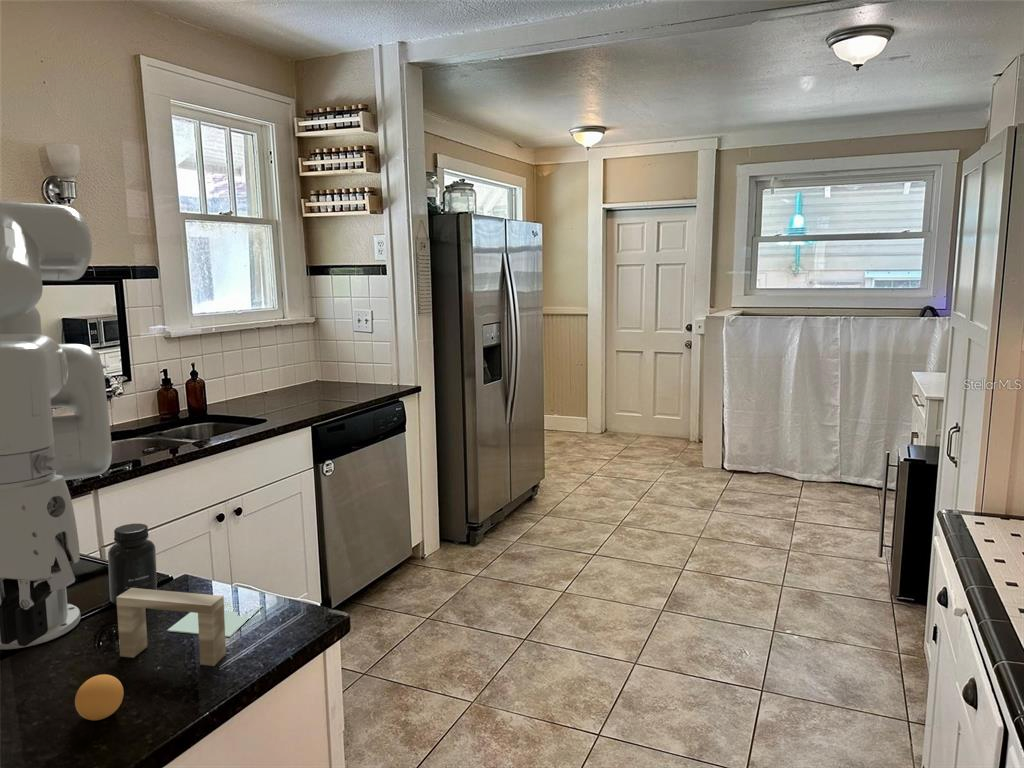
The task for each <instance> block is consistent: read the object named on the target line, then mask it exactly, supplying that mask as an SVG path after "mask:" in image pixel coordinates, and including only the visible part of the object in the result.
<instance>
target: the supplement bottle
mask: <svg viewBox="0 0 1024 768" xmlns="http://www.w3.org/2000/svg"><path fill="white" fill-rule="evenodd" d="M113 531H114V532H113V534H114V535H113V536H114V537H113V542H114V543H115V544H113V545H111V546H110V548H109V550H108V552H107V560H108V561H107V562H108V563H107V564H108V565H107V566H108V582H109V583H108V584H109V586H108V587H109V599H110V602H111V603H112V604H113V605H115V606H117V600H116V597H117V596H119V595H121V594H122V593H124V592H125V591H127V590H128V589H130V588H139V589H151V590H158V587H157V586H158V581H157V579H158V578H157V577H158V576H157V575H158V574H157V554H156V553H157V552H156V545H155V543H154V542H153V541H152V540H150V539H149V527H148V525H147V524H145V523H129V524H128V523H127V524H123V525H120V526H117V527H115V529H114V530H113Z"/></svg>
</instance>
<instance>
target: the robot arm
mask: <svg viewBox="0 0 1024 768" xmlns="http://www.w3.org/2000/svg"><path fill="white" fill-rule="evenodd" d="M92 254H93V242H92V235H91V232H90V228H89V225H88V224H87V221H86V219H85V218H84V217H83V215H81V213H80V212H79V211H77V210H76V209H74V208H72V207H70V206H65V205H62V204H61V205H60V204H47V203H32V202H17V201H7V200H5V201H4V200H3V201H2V200H0V650H15V649H23V648H27V647H33V646H37V645H39V644H43V643H46V642H49V641H52V640H55V639H56V638H59V637H61V636H63V635H65V634H67V633H69V632H70V631H71V630H73V629H74V628H75V627H76V626H77V625H78V624H79V622H80V621H81V611H80V610H81V609H80V608H78V606H76V605H74V604H72V603H68V593H67V588H68V587H69V586H70V585H72V584H74V583H75V581H76V577H75V573H74V572H73V570H72V567H71V566H74V565H76V564H78V563H79V561H80V555H81V554H80V553H81V552H80V542H79V534H78V533H79V532H78V528H77V526H78V525H77V521H76V516H75V515H76V514H75V509H74V506H73V501H72V496H71V494H70V490H69V487H68V485H67V482H66V481H69V480H71V481H72V480H78V479H84V478H85V479H86V478H91V477H96V476H99V475H103V474H104V473H106V472H107V470H108V469H109V468H110V466H111V464H112V463H111V462H112V456H113V447H112V435H111V426H110V425H111V424H110V416H109V406H108V397H107V396H108V395H107V388H106V380H105V379H106V378H105V372H104V366H103V363H102V360H101V358H100V356H99V354H98V353H97V351H96V350H95V349H94V348H92V347H90V346H89V345H86V344H81V343H57V342H56V340H54V338H51V337H49V336H47V335H45V334H42V333H43V332H42V321H41V315H40V312H39V310H38V308H37V307H36V306H37V304H38V303H39V301H40V300H41V298H42V295H43V281H59V282H60V281H77V280H79V279H80V278H82V277H83V276H84V274H85V273H86V272H87V271H86V270H87V269H88V266H89V264H90V262H91V259H92ZM54 408H55V409H57V408H65V409H69V410H70V411H72V412H73V413H74V414H70V415H58V416H53V414H52V409H54Z"/></svg>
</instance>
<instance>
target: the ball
mask: <svg viewBox="0 0 1024 768" xmlns="http://www.w3.org/2000/svg"><path fill="white" fill-rule="evenodd" d="M122 684H123V683H122V682H121V681H120V680H119V679H118V678H117V677H115V676H114V675H110V674H98V675H95V676H92V677H90V678H89V679H87V680H85V682H83V683H82V685H80V686H79V688H78V690H77V691H76V695H75V698H74V706H75V710H76V712H77V713H78V715H79V716H80V717H82V718H84V719H86V720H88V721H101V720H104V719H106V718H108V717H110V716H111V715H113V714H114V713H115V712H116V711H117V710H118V709H119V707H120V705H122V702H123V699H124V691H125V690H124V686H123V685H122Z"/></svg>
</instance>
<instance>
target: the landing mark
mask: <svg viewBox="0 0 1024 768" xmlns="http://www.w3.org/2000/svg"><path fill="white" fill-rule="evenodd" d="M224 603H225V604H224V609H225V607H226V608H227V607H228V605H229V607H232V606H230V605H231V604H228V601H224ZM226 603H227V604H226ZM226 605H227V606H226ZM232 605H233V604H232ZM234 605H235V604H234ZM236 605H237V604H236ZM259 605H260V607H259V609H260V608H261V607H263V606H264V605H263V604H262V605H261V604H259ZM263 608H264V607H263ZM229 609H230V608H229ZM231 609H232V608H231ZM233 609H234V608H233ZM235 609H236V608H235ZM259 609H258V607H257V610H255V613H256V612H257V611H258V610H259ZM261 609H262V608H261ZM261 609H260V610H261ZM260 610H259V611H260ZM259 611H258V612H259ZM258 612H257V613H258ZM255 613H254V612H253V615H254V614H255ZM257 613H256V614H257ZM256 614H255V615H256ZM237 615H238V612H235V611H234V612H233V611H232V612H231V610H230V612H229V610H228V611H227V610H226V611H225V610H224V619H225V638H231V637H232V636H234V634H235V633H236V632H237V630H238V629H239V628H240V627H241V626H242V625H243V623H245V622H246V621H247V620H248V619H249V618H247V616H248V614H246V613H245V614H244V613H243V614H242V617H241V615H240V616H239V615H238V616H237ZM253 615H250V616H253ZM255 615H254V616H255ZM254 616H253V617H254ZM245 617H246V618H245ZM249 620H250V619H249ZM249 620H248V621H249ZM248 621H247V622H248ZM247 622H246V623H247ZM246 623H245V624H246ZM243 626H244V625H243ZM243 626H242V627H243ZM242 627H241V628H242ZM241 628H240V629H241ZM240 629H239V630H240ZM239 630H238V631H239ZM166 631H167V632H170V633H171V632H172V633H182V634H192V635H199V626H198V613H194V612H188V614H186V615H185V616H184V617H182V618H181V619H179V620H178V621H177V622H175V623H174V624H173V625H172V626H171V627H169V628H168V629H166Z"/></svg>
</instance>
